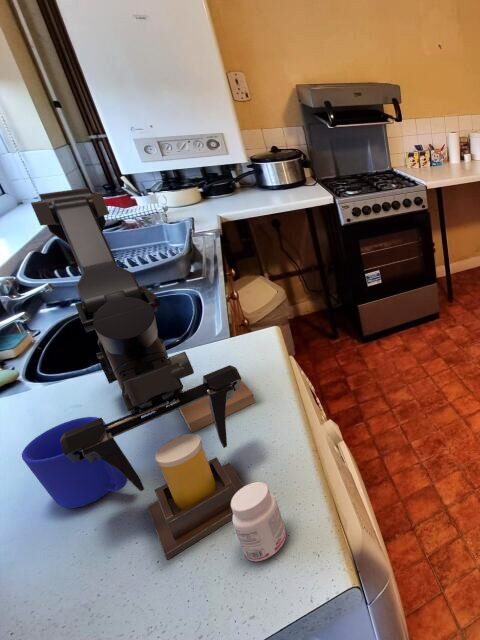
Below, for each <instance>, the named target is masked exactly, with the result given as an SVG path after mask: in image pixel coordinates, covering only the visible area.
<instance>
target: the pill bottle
mask: <svg viewBox="0 0 480 640" xmlns="http://www.w3.org/2000/svg"><path fill="white" fill-rule="evenodd" d="M243 486H244V487H243V488H241V489H240V490H239V491H238V492H237V493H236V494H235V495H234V496H233V498H232V500H231V508H232V511H233V518H232V520H231V521H232V525H233V527H234V531H235V533H236V535H237V538H238V541H239V544H240V545H241V549H242V552H243V554H244V556H245V558H246V559H248V561H251V562H261V561H264V560H267V559H268V558H271V557H272V556H274V554H276V553H277V552H278V551H279V550H280V549H281V548H282V546H283V545H284V543H285V541H286V537H287V531H286V527H285V524H284V520H283V517H282V514H281V510H280V507H279V505H278V501H277V499H276V497H275V496H274V495H273V494H272V493H271V491H270V489H269V487H268V484H266V483H265V482H262V481H256V482H255V481H254V482H251V483H248V484H246V485H243Z"/></svg>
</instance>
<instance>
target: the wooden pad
mask: <svg viewBox="0 0 480 640" xmlns="http://www.w3.org/2000/svg"><path fill="white" fill-rule="evenodd" d="M177 402H179V401H177ZM177 402H175V403H177ZM209 402H210V398H208V396H206V397H204V398H202V399H200V400H197V401H195V402H193V403H191V404H188V405H186V406H184V407H181V408H179V409H178V410H179V413H180V414H181V416H182V418H183V419H184V421H185V423H186V425H187V427H188V428H189V430H190V431H191V433H194V432H197V431H198V430H200V429H203V428H205V427H207V426H209V425H211V424H213V423H214V420H213V417H212V413H211V410H210V407H209ZM255 403H256V400H255V397H254V393H253V392H252V390H250V388H248V386H247V385H246V384H245V383H244V382H243V379H242V380H241V385H240V389H238V390H237V391H235V392H234V393H233V398H232V399H230V400H229V401H226V408H225V418H226V417H228V416H230V415H232V414H235V413H236V412H238V411H240V410H242V409H244V408H245V409H246V408H247V407H249V406H250V405H251V406H252V405H253V404H255Z"/></svg>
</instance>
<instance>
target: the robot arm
mask: <svg viewBox="0 0 480 640" xmlns="http://www.w3.org/2000/svg"><path fill="white" fill-rule="evenodd" d="M38 196H39V199H40V200H38V201H31V202H30V205H31V207H32V210H33V212H34V214H35V216H36V218H37V221H38V223H39V226H47V229H48V230H49V232H50V233H51V234H52V235H53V236H55V237H57V238H58V239H60V240H61V241H62V242H64V243H65V244H67V245H68V246H69V248H70V251H71V252H72V255H73V257H74V260H75V262H76V264H77V267H78V269H79V271H80V274H81V275H80V277H79V279H78V281H77V283H76V285H75V289H76V291H77V295H78V296H79V299H80V302H75V303H74V305H75V308H76V311H77V313H78V316H79V319H80V321H81V324H82V326H83V328H84V330H85V332H86V333H88V332H92V331H95V332H96V335H97V337H98V339H97V345H98V347H99V350H100V351H99V352H96V355H95V356H96V357H97V360H98V362H99V364H100V367H101V369H102V371H103V374H104V376H105V378H106V380H107V383H108V384H109V385H111V384H113V383H114V382H117V383H118V386H119V388H120V390H121V397H122V399H123V402H124V404H125V406H126V409H127V411H129V412H130V414H127V415H125V416H123V417H119V418H117V419H115V420H112V421H110V422H108V423H106V422H105V421H104V419H103V417H98V418H99V419H96V420H94V421H91V422H89V423H86V424H84V425H82V426H79V427H77V428H74V429H72V430H69V431H67V432H64V434H63V436H62V437H61V439H60V443H61V446H62V449H63V451H64V454H65V456H66V457H67V458H69V459H70V460H71V461H72V462H74V463H75V462H79V461H82V460H84V459H87V460H88V461H89V462H90V463H92V462H95V461H97V460H100V459H102V460H104V461H105V462H107V463H108V464H110V465H111V466H113V467H115V468H116V469H117V470H119V471H120V472H121V473H122V474H123V475H124V476H125V477H126V478H127V481H129V482H130V483H131V484H132V485H133V486H134V487H136V489H137V490H138V491H140V492H142V491H144V490H145V487H144V484H143V481H142V479H141V477H140V476H139V475H138V473H137V471H136V470H135V469H134V467H133V465H132V464H131V462H130V461H129V460H128V458H127V456H126V454H125V453H124V452H123V450H122V449H121V447H120V445H119V444H118V443H117V441H116V440H115V437H117V436H120V435H122V434H124V433H126V432H129V431H131V430H134V429H136V428H138V427H140V426H143V425H145V424H147V423H149V422H152V421H154V420H155V419H159V418H161V417H164V416H165V415H168V414H170V413H173V412H174V411H177V410H179V408H181V407H184V406H186V405H188V404H191V403H193V402H195V401H197V400H200V399H202V398H204V397H206V396H208V398H210V402H209V407H210V410H211V413H212V417H213V420H214V422H213V423H214V427H215V429H216V433H217V437H218V440H219V442H220V444H221V446H222V448H223V449H225V448H227V447H228V439H227V438H228V437H227V425H226V424H227V423H226V417H225V408H226V401H229V400H230V399H232V398H233V393H234V392H235V391H237V390H238V389H240V385H241V380H242V381H243V378H242V376H241V374H240V373H239V370H238V368H237V367H236V366H233V365H231V364H228V365H225V366H224V367H222V368H221V367H220V368H219V369H217V370H214V371H211V372H209V373H207V374H204V375H203V376H202V383H201V384H199V385H197V386H194V387H191V388H189V389H187V390H184V391H183V389H184V385H183V383H182V381H181V379H184V378H186V377H189V376H191V375H194V374H195V371H194V368H193V366H192V363H191V361H190V359H189V356H188V354H187V352H186V351H182V352H180V353H176V354H174V355H171V356H169V355H168V352H167V348H166V345H165V341H164V339H161V338H159V336H158V335H159V334H158V333H159V332H158V327H157V326H158V325H157V320H156V314H155V312H158V307H160V306H161V303H160V300H159V297H158V296H157V295H156V293H154V292H153V290H150V289H149V288H148V287H147V286H146V285H139V283H138V281H137V279H136V277H135V275H134V273H133V271H130V270H127V268H124V267H121V266H119V264H118V263H117V261H116V259H115V257H114V254H113V252H112V250H111V248H110V245H109V243H108V241H107V239H106V237H105V234H104V233H103V232H104V229H105V227H106V223H107V220H106V217H105V216H107V215H110V212H109V210H108V206H107V204H106V201H105V199H104V198H105V197H104V196H103V193H101V192H92V193H91V191H90V188H89V187H83V188H82V187H81V188H76V189H74V188H73V189H68V190H60V191H53V192H44V193H38ZM177 401H179V402H177ZM176 402H177V403H176Z"/></svg>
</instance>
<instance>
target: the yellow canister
mask: <svg viewBox="0 0 480 640" xmlns="http://www.w3.org/2000/svg"><path fill="white" fill-rule="evenodd" d="M154 459H155V462H156V464H157V465H158V466H159V468H160V470H161V473H162V475H163V479H164V480H165V482H166V483H167V485H168V487H169V489H170V492H171V494H172V497H173V499H174V501H175V504H176V506H177V508H178V510H179V511H182V510H184V509H186V508H187V507H189V506H191V505H193V504H194V503H196V502H198V501H200V500H201V499H203V498H205V497H207V496H208V495H210V494H212V493H214V492H215V491H217V490H218V488H217V485H216V482H215V480H214V477H213V474H212V472H211V469H210V466H209V463H208V461H209V460H208V458H207V456H206V452H205V450H204V447H203V441H202V439H201V437H200V436H199V435H198V434H196V433H188V434H182V435H179V436H176V437H174V438H172V439H170V440H168V441H167V442H165V443H164V444H163V445H162V446H161V447H159V448H158V449H157V451H156V453H155V456H154Z"/></svg>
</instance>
